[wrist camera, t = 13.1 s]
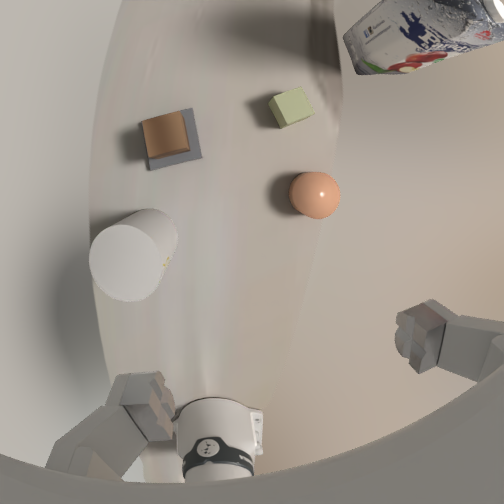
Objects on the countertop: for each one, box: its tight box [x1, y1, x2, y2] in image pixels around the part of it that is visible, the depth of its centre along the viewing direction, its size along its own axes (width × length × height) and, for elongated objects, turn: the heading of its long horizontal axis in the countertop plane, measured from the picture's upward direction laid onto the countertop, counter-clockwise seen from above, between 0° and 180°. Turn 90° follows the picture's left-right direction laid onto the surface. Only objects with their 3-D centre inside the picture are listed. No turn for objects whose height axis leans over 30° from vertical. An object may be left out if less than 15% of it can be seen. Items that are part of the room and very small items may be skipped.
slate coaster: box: [141, 108, 202, 171], centre depth 34 cm, size 7×7×1 cm
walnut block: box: [142, 111, 191, 159], centre depth 31 cm, size 4×4×5 cm
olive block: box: [268, 87, 315, 129], centre depth 33 cm, size 4×4×4 cm
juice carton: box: [343, 0, 504, 75], centre depth 21 cm, size 9×10×27 cm
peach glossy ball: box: [289, 172, 340, 219], centre depth 37 cm, size 6×6×4 cm
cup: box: [89, 209, 178, 302], centre depth 32 cm, size 8×8×12 cm
